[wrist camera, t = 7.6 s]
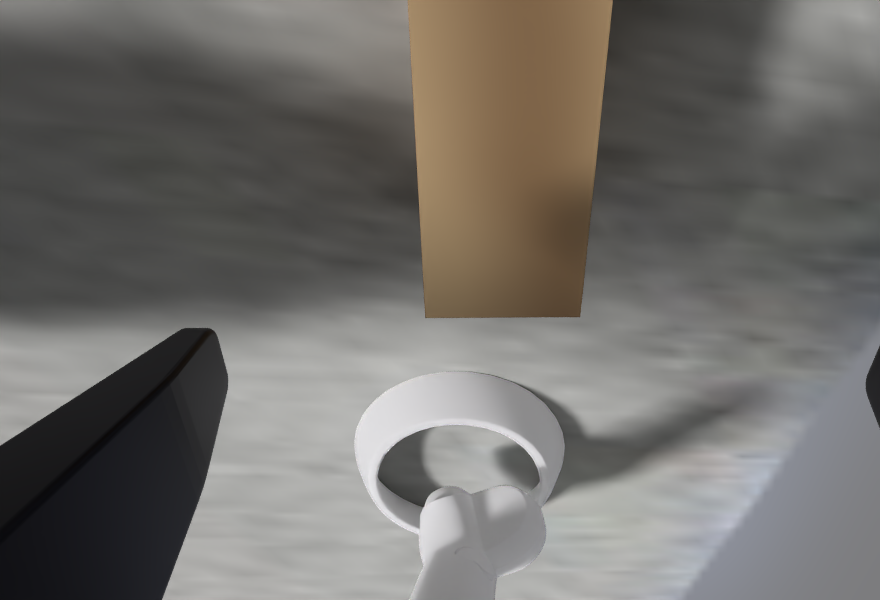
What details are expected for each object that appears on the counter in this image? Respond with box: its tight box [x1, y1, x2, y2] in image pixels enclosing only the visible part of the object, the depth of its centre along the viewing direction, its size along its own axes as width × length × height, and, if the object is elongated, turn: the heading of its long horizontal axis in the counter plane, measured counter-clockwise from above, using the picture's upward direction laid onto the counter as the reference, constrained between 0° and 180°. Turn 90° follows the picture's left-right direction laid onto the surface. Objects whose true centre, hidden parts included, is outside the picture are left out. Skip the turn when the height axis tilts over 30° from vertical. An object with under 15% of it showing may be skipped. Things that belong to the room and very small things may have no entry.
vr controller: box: [354, 371, 565, 600], centre depth 21 cm, size 8×12×7 cm
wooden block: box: [408, 0, 613, 318], centre depth 15 cm, size 4×10×5 cm, turn 2°
